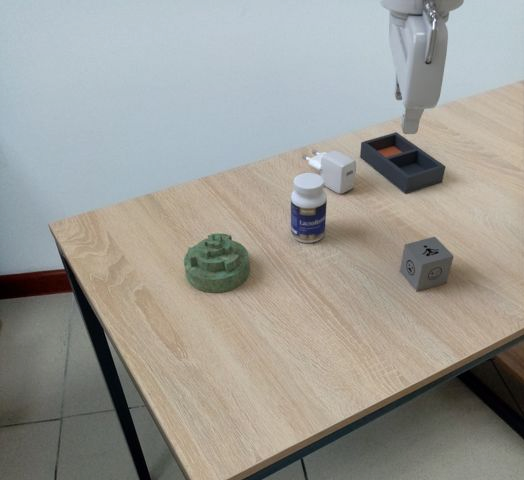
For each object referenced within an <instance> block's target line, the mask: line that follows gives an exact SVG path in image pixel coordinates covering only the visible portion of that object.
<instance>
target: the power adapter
mask: <svg viewBox="0 0 524 480" xmlns="http://www.w3.org/2000/svg"><path fill="white" fill-rule="evenodd" d="M311 153H312V154H313V155H314V156H312V157H309V156H307V155H306V154H302V155H301V158H302V159H304V160H305V161H307V162H308V163H307V164H308V165H309V167H310V168H311V169H313V170H315V171H317V172H318V173H320V174H319V175H320V176H322V177H323V179H324V187H326V188H327V189H330V190H331V191H333V192H335V193H336V194H341V195H342V194H345V193H347V192H348V191H350V190H352V189H353V188H354V186H355V183H356V174H357V173H356V172H357V171H356V170H357V162H356V159H355V158H353V157H351V156H350V155H348V154H346V153H344V152H342V151H339V150H336V149H333V150H331V151H329V152H327V151H323V152H319V151H317V150H315V149H313V150H312V151H311Z"/></svg>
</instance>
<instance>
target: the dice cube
mask: <svg viewBox="0 0 524 480" xmlns="http://www.w3.org/2000/svg"><path fill="white" fill-rule="evenodd" d="M453 260H454V254H453V253H451V251H450V250H449V249H448V248H447V247H446V246H445V245H444V244H443V243H442V242H441V241H440V240H439V239H438V238H437V237H436V236H431V237H427V238H424V239H420V240H416V241H412V242H409V243H405V244H404V245H403V252H402V256H401V262H400V268H399V272H400V273H401V275H402V276H403V277H404V279H406V281H407V282H408V283H409V284H410V285H411V287H412V288H413V290H415V291H416V292H420V291H423V290H426V289H429V288H433V287H438V286H441V285H444V284H447V283H448V280H449V276H450V271H451V268H452V264H453Z"/></svg>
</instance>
